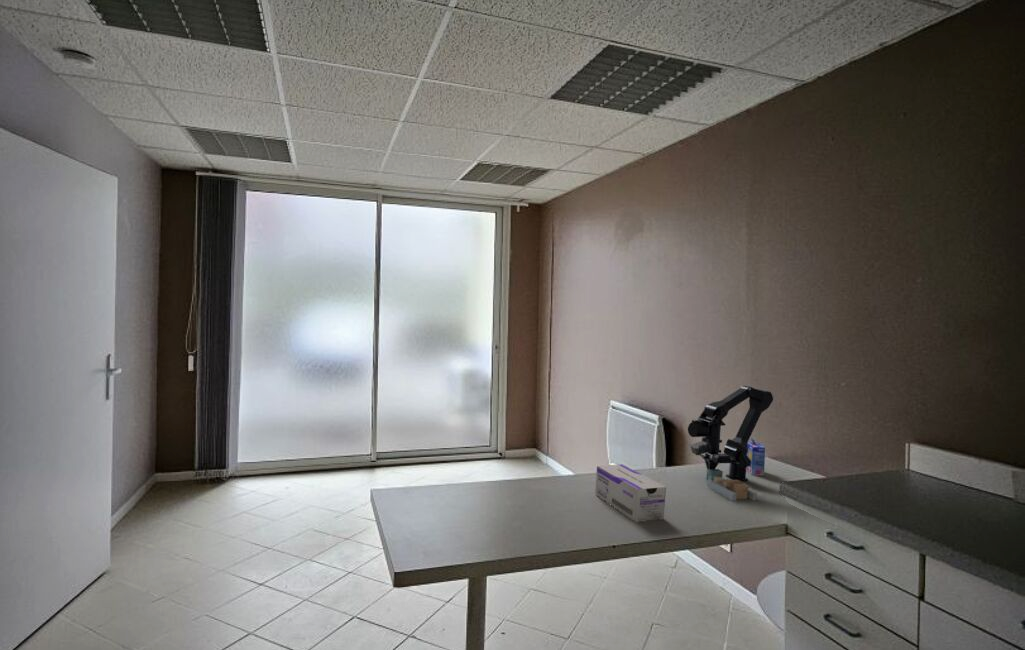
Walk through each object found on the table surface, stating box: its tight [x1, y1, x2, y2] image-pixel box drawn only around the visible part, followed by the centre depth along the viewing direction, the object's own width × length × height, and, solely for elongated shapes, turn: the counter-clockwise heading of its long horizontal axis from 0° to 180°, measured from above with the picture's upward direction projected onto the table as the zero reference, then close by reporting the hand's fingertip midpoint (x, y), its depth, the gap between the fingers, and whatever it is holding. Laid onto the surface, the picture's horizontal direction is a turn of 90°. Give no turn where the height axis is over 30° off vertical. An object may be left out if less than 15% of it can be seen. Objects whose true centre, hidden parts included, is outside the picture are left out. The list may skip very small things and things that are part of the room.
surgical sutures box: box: [594, 463, 667, 523], centre depth 181 cm, size 25×11×11 cm, turn 22°
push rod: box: [705, 468, 727, 488], centre depth 208 cm, size 12×5×4 cm, turn 13°
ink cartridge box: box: [746, 437, 766, 477], centre depth 231 cm, size 10×6×14 cm, turn 174°
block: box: [726, 479, 749, 500], centre depth 199 cm, size 6×5×5 cm
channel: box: [706, 478, 758, 502], centre depth 202 cm, size 16×10×2 cm, turn 13°
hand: (709, 474), depth 215 cm, fingers closed
